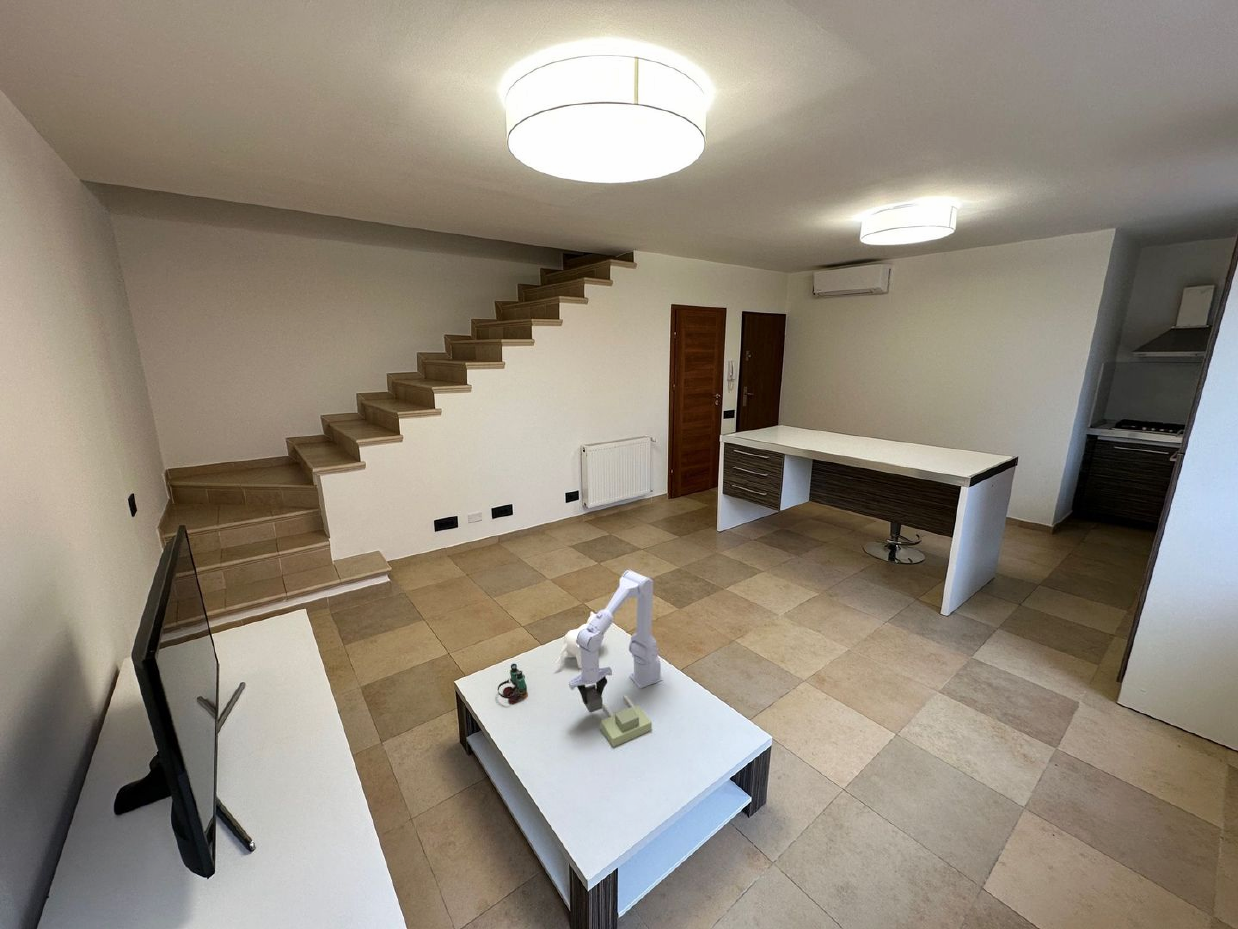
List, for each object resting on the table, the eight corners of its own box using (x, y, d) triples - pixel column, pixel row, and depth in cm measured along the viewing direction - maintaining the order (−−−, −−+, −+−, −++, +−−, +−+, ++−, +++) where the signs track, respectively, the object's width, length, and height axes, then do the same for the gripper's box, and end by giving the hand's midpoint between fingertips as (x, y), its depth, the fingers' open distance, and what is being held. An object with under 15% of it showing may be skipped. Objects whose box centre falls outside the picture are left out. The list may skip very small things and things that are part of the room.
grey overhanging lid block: (594, 696, 164) (594, 684, 163) (602, 708, 159) (602, 695, 158) (582, 701, 162) (582, 688, 161) (590, 713, 157) (589, 700, 156)
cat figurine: (563, 680, 180) (560, 641, 176) (548, 666, 188) (546, 628, 184) (615, 652, 196) (614, 615, 191) (600, 640, 203) (598, 605, 199)
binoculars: (491, 673, 171) (516, 659, 176) (496, 696, 174) (521, 682, 180) (501, 686, 164) (528, 671, 169) (507, 711, 167) (533, 695, 173)
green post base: (627, 697, 171) (626, 683, 169) (651, 730, 157) (651, 714, 155) (590, 712, 165) (590, 697, 163) (612, 747, 150) (612, 731, 149)
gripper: (604, 650, 164) (606, 684, 167) (564, 664, 157) (567, 699, 161) (614, 662, 158) (615, 697, 161) (572, 677, 151) (575, 713, 155)
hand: (592, 699), depth 161 cm, fingers closed on grey overhanging lid block, 4 cm apart
